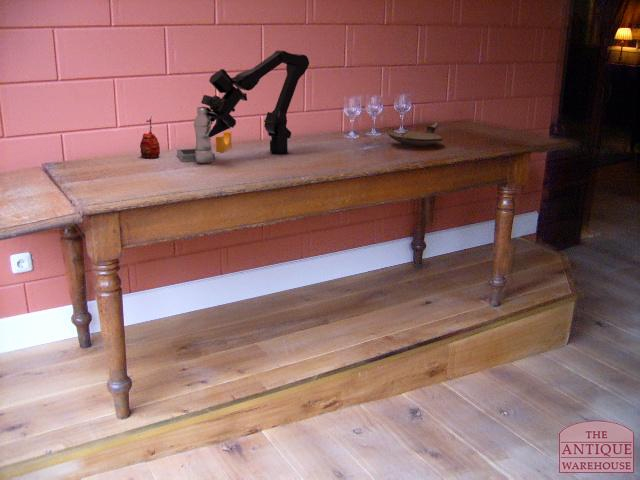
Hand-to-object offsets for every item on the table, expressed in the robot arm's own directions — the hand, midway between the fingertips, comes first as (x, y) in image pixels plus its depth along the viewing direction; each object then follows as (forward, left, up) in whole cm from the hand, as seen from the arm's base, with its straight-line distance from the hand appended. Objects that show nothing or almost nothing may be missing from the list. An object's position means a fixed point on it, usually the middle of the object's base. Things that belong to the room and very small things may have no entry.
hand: (202, 134), depth 238 cm
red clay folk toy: (+21, -11, -11) cm, 26 cm away
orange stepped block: (-5, -25, -11) cm, 27 cm away
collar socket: (+4, -9, -10) cm, 14 cm away
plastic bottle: (0, 0, -11) cm, 11 cm away
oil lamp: (-88, -33, -11) cm, 95 cm away
